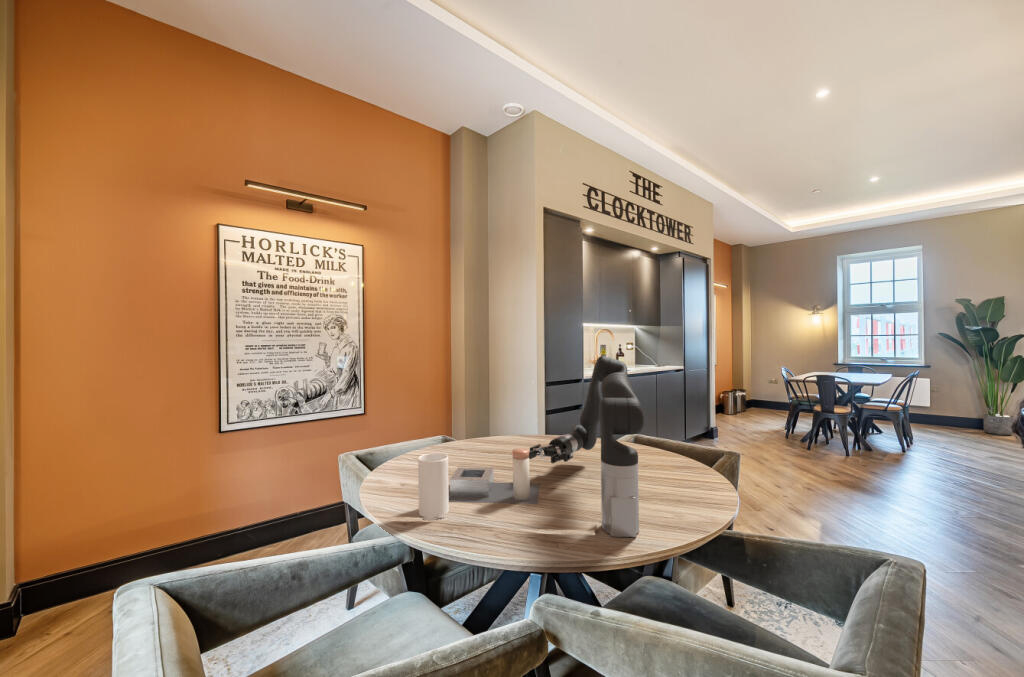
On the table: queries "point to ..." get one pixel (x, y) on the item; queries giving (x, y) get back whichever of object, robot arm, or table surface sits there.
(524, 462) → the peg
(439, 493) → the cup
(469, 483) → the socket
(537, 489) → the mat
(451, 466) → the table surface
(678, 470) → the table surface
